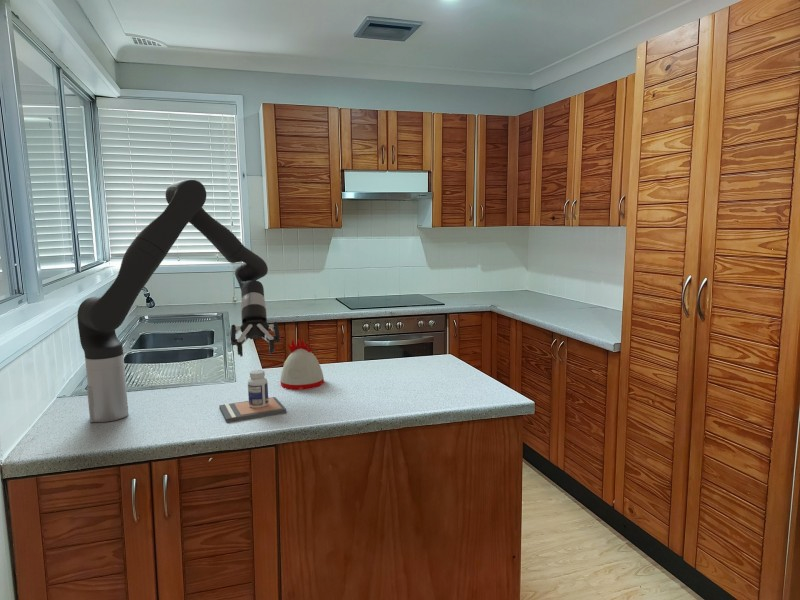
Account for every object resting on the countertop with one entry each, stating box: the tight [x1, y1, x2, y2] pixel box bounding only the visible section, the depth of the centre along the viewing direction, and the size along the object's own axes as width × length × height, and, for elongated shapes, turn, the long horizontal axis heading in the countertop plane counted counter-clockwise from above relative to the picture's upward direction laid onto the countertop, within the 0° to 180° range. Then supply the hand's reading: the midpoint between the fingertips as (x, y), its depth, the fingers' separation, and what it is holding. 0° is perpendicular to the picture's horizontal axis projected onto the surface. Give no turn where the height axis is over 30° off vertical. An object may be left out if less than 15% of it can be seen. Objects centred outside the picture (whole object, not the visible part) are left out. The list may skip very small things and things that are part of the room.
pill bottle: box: [247, 369, 269, 408], centre depth 156 cm, size 5×5×10 cm
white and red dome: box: [280, 338, 325, 391], centre depth 182 cm, size 14×14×15 cm
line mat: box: [218, 396, 287, 423], centre depth 156 cm, size 16×13×1 cm
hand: (256, 354), depth 165 cm, fingers open, 8 cm apart
